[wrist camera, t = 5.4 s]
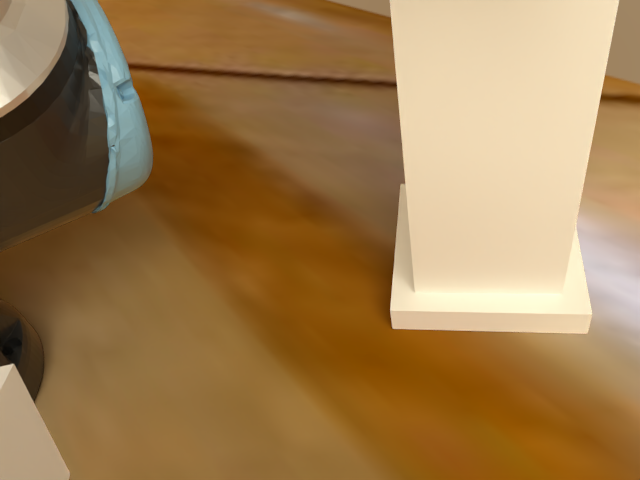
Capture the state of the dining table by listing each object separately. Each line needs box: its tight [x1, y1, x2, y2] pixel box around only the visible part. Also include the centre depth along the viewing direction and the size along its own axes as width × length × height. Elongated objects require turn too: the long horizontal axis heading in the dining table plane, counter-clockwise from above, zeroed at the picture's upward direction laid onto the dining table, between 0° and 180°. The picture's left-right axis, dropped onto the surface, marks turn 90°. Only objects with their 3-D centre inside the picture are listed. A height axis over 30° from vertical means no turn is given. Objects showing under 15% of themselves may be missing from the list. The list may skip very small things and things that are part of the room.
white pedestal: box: [390, 0, 619, 334], centre depth 32 cm, size 14×12×30 cm
